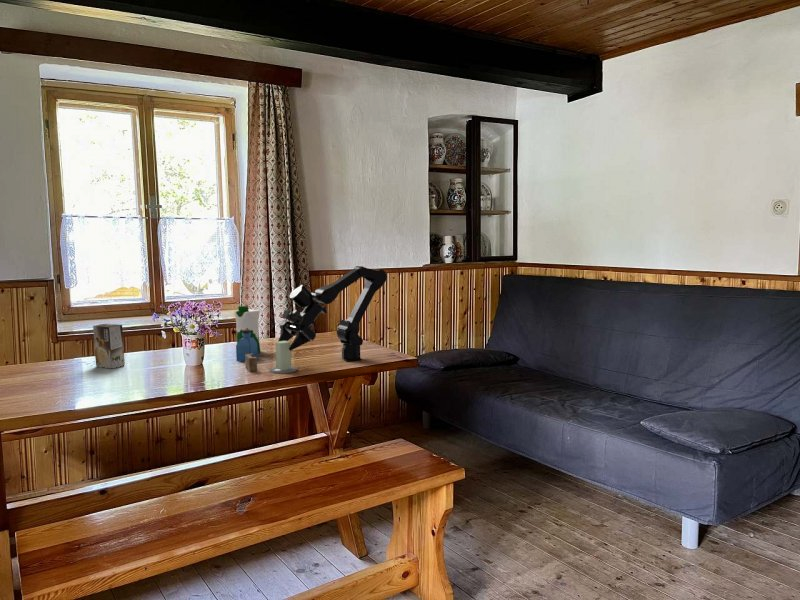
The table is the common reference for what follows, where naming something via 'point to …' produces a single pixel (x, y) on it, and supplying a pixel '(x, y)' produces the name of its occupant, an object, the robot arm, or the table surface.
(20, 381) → the table surface
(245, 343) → the perfume bottle
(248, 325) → the milk carton
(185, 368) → the table surface
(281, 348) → the sage peg
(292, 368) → the stoneware coaster
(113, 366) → the coffee box
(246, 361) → the walnut U-bracket
